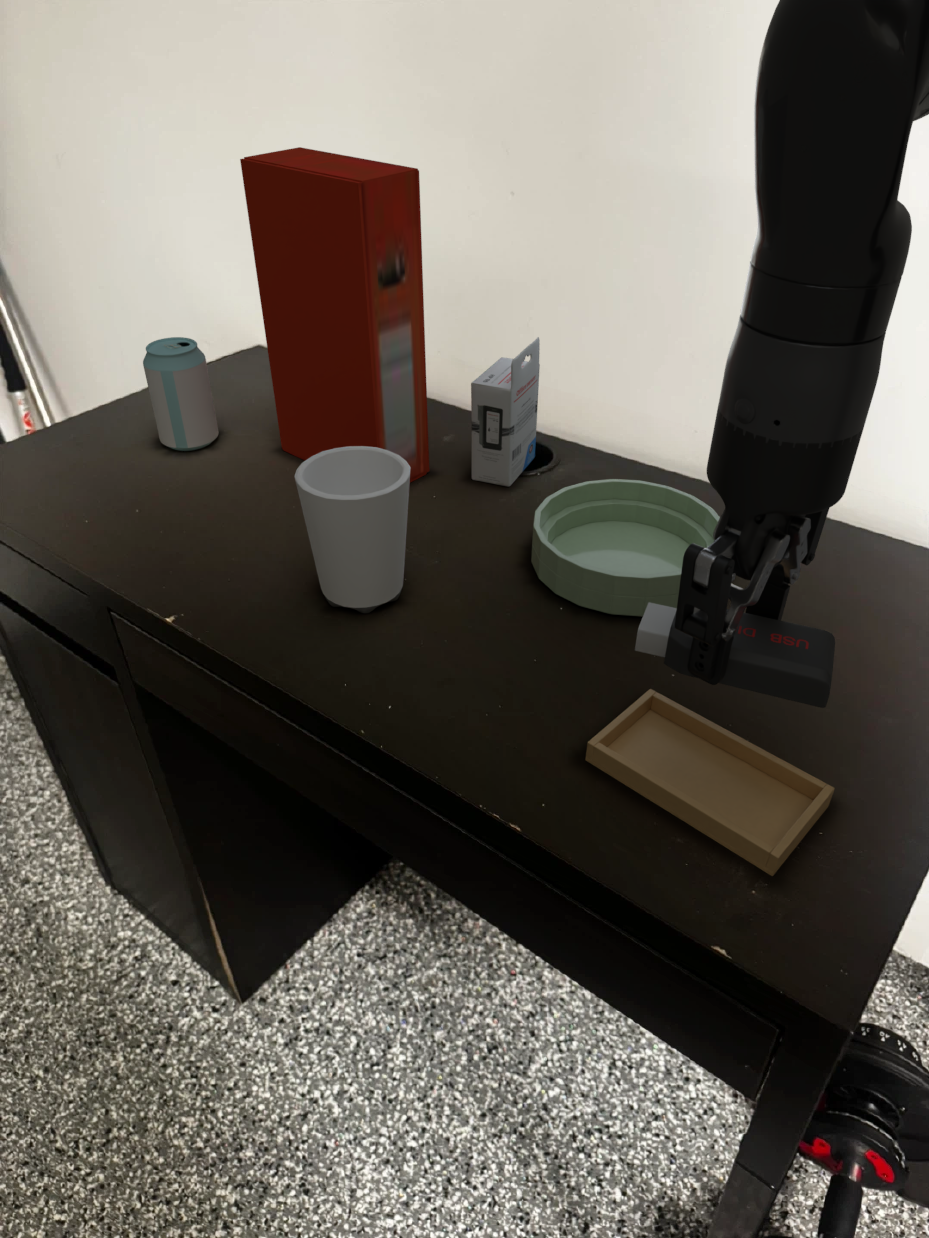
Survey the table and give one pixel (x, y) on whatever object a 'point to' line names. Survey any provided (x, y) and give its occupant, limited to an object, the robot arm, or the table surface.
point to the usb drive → (752, 654)
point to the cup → (356, 523)
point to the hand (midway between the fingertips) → (733, 650)
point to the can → (180, 393)
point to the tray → (711, 779)
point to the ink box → (505, 417)
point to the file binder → (341, 300)
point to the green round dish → (618, 543)
